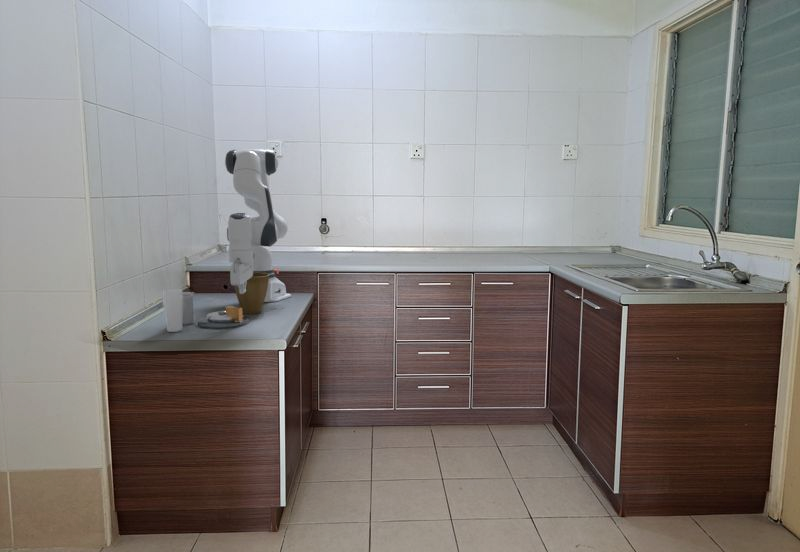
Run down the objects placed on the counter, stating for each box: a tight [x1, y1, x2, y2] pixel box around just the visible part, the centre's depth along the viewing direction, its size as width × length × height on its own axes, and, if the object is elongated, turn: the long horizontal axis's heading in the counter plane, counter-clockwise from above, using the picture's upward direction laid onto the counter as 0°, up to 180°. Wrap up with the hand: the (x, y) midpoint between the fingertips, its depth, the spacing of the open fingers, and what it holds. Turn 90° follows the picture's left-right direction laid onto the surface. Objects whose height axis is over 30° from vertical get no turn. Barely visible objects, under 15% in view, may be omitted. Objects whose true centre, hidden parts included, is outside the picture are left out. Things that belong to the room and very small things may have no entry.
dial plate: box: [197, 314, 250, 330], centre depth 225 cm, size 19×19×2 cm
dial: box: [206, 305, 243, 323], centre depth 223 cm, size 16×12×5 cm
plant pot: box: [233, 273, 269, 315], centre depth 244 cm, size 15×15×16 cm
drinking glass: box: [162, 288, 184, 333], centre depth 211 cm, size 7×7×15 cm
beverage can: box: [182, 291, 195, 326], centre depth 223 cm, size 6×6×12 cm
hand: (242, 293), depth 221 cm, fingers closed
